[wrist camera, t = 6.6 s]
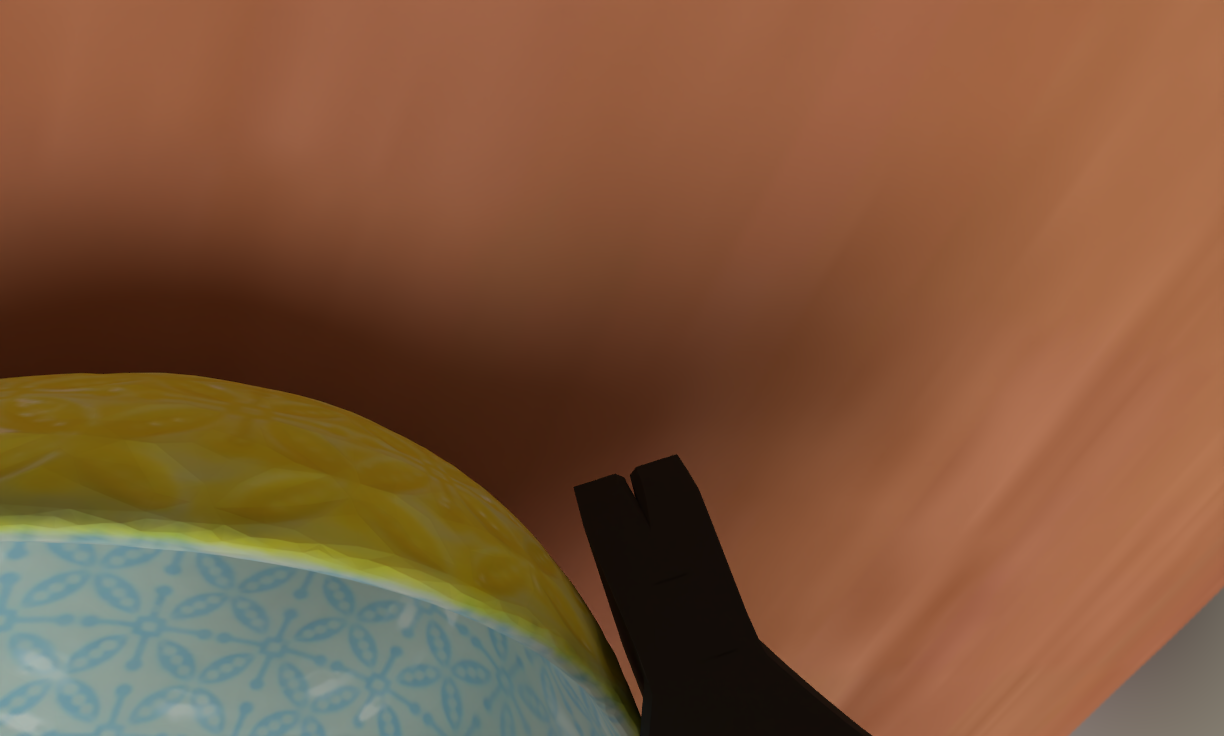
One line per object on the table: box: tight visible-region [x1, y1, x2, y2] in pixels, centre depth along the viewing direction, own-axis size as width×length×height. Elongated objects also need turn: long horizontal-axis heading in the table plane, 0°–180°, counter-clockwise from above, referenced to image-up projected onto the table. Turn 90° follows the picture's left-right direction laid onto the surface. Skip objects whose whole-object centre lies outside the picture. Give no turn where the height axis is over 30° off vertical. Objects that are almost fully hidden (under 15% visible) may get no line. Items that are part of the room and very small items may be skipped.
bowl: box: [0, 373, 641, 736], centre depth 9 cm, size 11×12×6 cm
